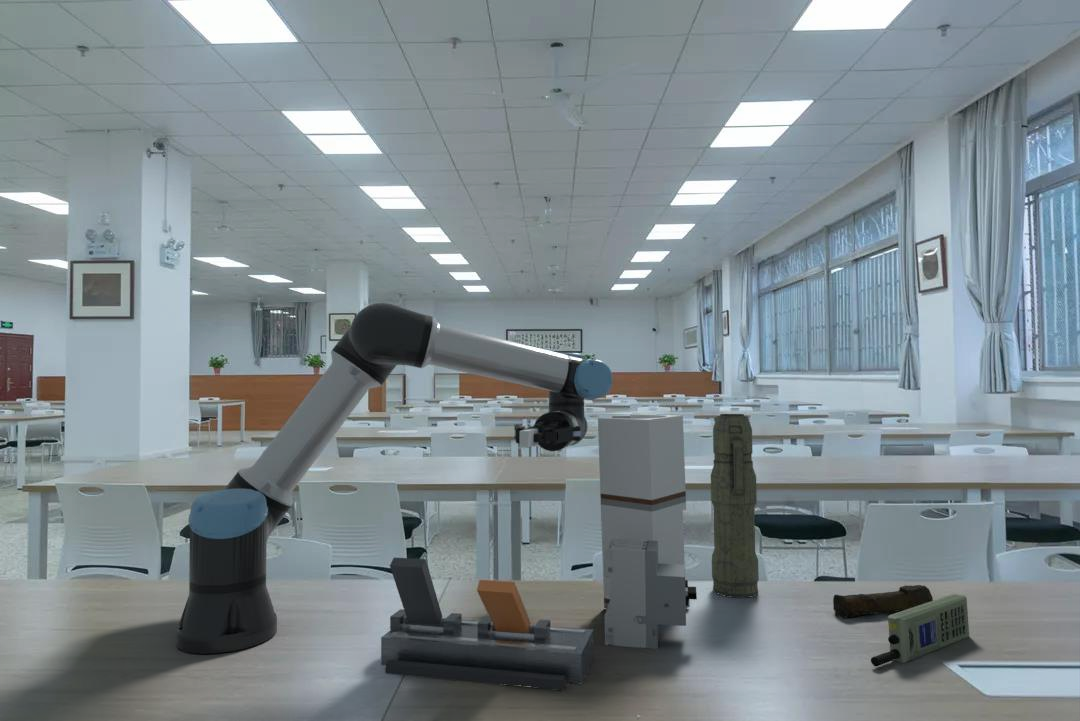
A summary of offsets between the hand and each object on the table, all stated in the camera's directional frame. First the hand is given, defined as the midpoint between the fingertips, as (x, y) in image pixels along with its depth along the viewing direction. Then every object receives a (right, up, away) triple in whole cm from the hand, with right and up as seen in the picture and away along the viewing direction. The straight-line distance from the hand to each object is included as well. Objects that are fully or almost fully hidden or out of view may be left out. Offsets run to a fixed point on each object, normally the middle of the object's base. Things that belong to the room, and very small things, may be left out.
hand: (524, 439), depth 114 cm
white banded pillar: (+22, -33, +14) cm, 42 cm away
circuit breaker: (+21, -32, -2) cm, 38 cm away
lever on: (-15, -27, -7) cm, 32 cm away
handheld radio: (+61, -32, -7) cm, 69 cm away
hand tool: (+64, -33, +11) cm, 73 cm away
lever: (-1, -27, -11) cm, 29 cm away
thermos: (+41, -33, +24) cm, 58 cm away
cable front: (-7, -32, -17) cm, 36 cm away
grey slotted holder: (-5, -32, -10) cm, 34 cm away
